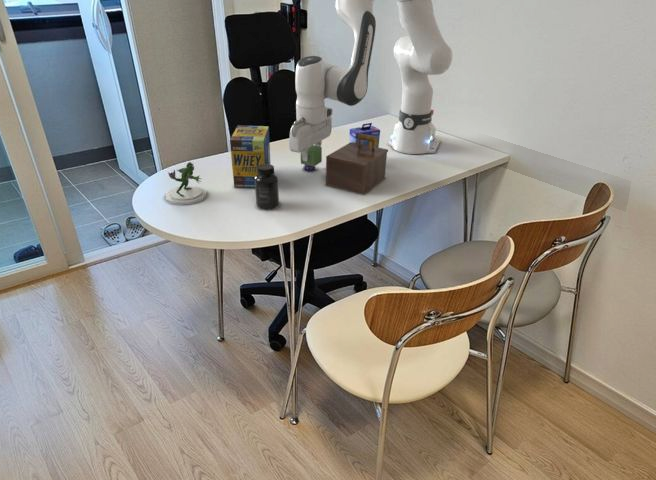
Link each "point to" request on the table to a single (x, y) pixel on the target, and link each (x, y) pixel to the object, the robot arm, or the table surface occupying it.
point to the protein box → (249, 153)
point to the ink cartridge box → (365, 130)
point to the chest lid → (358, 152)
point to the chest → (355, 175)
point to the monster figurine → (185, 188)
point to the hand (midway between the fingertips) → (311, 157)
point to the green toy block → (313, 156)
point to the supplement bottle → (266, 187)
